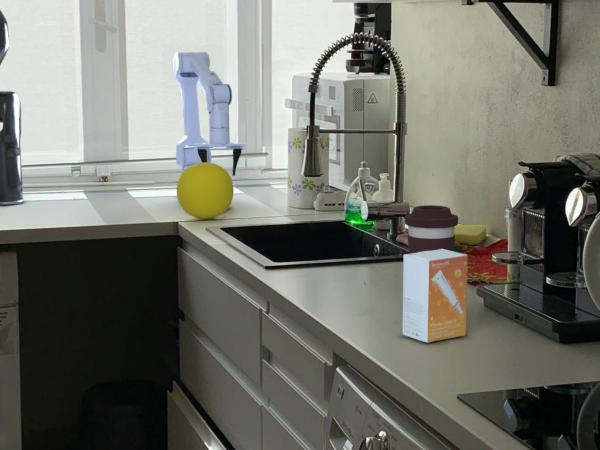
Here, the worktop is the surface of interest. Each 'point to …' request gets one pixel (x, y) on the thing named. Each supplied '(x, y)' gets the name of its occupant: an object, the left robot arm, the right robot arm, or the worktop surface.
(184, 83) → the right robot arm
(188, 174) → the toy
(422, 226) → the coffee cup
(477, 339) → the worktop surface
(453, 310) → the small box
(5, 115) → the left robot arm
